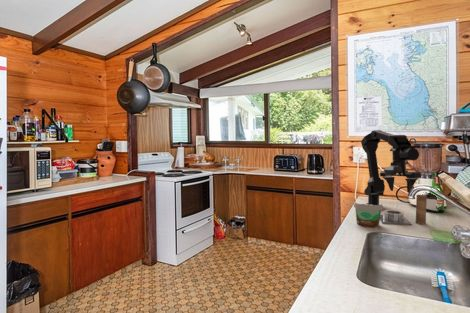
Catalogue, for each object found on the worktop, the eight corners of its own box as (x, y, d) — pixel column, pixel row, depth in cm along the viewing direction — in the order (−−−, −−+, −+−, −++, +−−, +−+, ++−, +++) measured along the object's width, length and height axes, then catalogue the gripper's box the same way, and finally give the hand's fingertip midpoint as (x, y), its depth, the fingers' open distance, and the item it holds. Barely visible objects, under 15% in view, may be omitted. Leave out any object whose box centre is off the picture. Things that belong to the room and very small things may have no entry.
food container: (353, 226, 138) (354, 204, 137) (353, 222, 144) (353, 201, 143) (383, 229, 134) (384, 206, 133) (382, 225, 140) (382, 203, 139)
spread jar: (426, 212, 159) (427, 190, 157) (413, 207, 170) (414, 186, 169) (449, 212, 159) (450, 190, 158) (434, 206, 170) (435, 186, 169)
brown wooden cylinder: (414, 221, 144) (415, 194, 143) (423, 222, 143) (425, 194, 142) (417, 224, 140) (418, 196, 139) (427, 224, 139) (428, 196, 138)
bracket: (377, 216, 153) (377, 208, 153) (403, 217, 150) (404, 209, 150) (382, 223, 142) (382, 215, 142) (411, 225, 139) (411, 216, 138)
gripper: (371, 160, 156) (372, 191, 156) (405, 160, 139) (406, 195, 139) (387, 160, 161) (388, 189, 161) (421, 160, 144) (422, 193, 144)
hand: (400, 191), depth 151 cm, fingers open, 9 cm apart
